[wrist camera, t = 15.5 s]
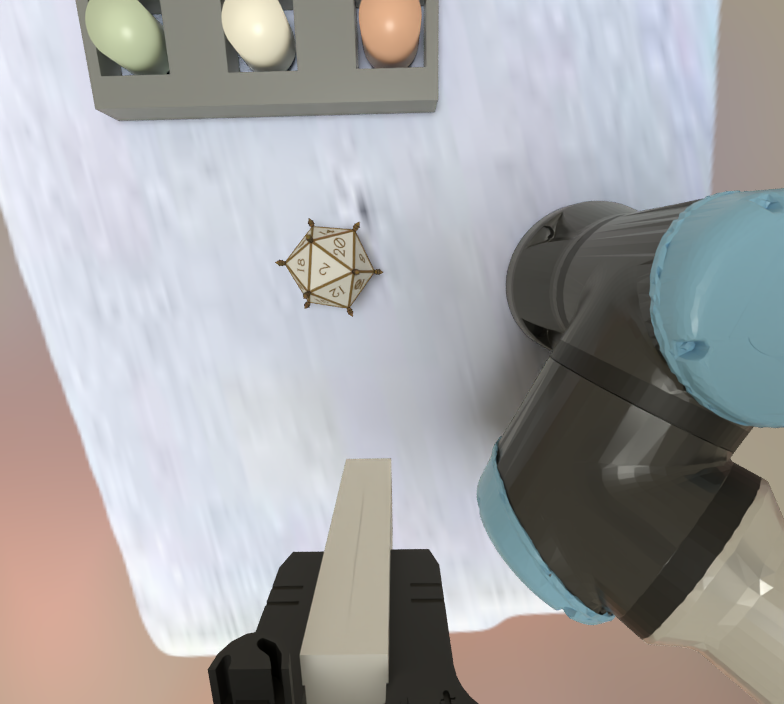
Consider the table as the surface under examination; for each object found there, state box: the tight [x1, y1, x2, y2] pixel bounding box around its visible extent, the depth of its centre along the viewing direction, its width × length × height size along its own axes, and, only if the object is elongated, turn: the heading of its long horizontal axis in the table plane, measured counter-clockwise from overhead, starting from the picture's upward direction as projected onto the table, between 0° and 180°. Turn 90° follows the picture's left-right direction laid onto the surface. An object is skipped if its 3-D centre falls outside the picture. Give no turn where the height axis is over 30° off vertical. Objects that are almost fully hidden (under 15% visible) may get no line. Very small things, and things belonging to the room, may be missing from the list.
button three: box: [359, 0, 422, 68], centre depth 33 cm, size 5×5×4 cm
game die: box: [275, 218, 383, 317], centre depth 36 cm, size 9×8×10 cm
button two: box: [85, 0, 169, 75], centre depth 33 cm, size 5×5×4 cm
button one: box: [222, 0, 296, 72], centre depth 33 cm, size 5×5×4 cm
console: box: [76, 0, 438, 121], centre depth 34 cm, size 30×12×3 cm, turn 91°
